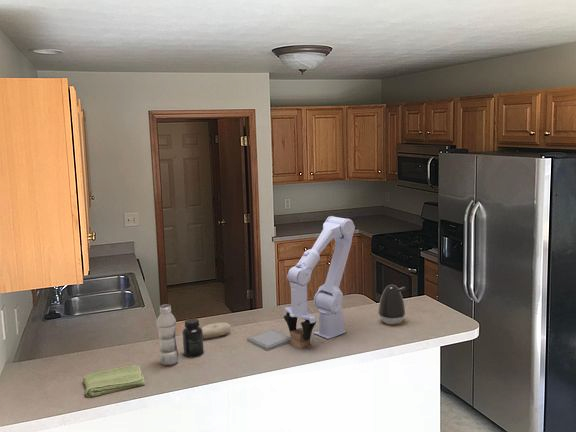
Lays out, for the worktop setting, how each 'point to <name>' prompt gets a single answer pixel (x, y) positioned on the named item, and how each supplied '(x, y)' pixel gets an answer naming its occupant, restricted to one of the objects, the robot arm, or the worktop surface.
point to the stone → (215, 330)
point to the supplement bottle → (192, 338)
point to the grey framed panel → (269, 339)
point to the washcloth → (113, 380)
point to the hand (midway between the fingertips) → (300, 336)
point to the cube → (298, 338)
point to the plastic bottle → (167, 336)
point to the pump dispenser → (392, 305)
